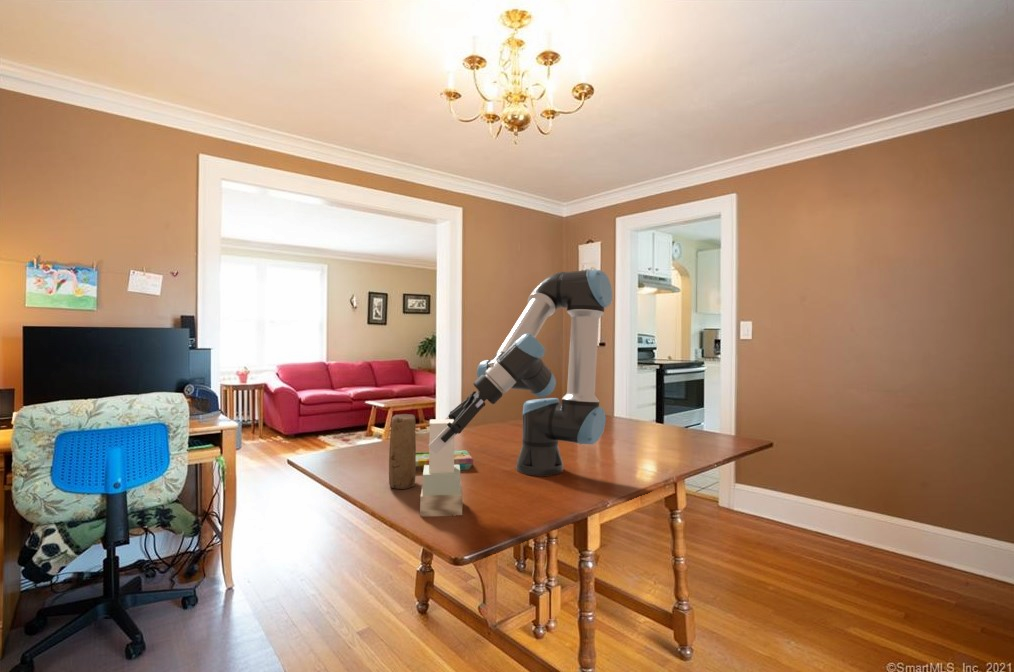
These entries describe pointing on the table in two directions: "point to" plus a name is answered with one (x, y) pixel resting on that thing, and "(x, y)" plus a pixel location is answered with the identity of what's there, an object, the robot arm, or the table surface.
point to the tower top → (441, 482)
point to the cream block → (445, 456)
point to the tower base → (441, 504)
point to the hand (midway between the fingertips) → (432, 443)
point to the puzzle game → (459, 459)
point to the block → (402, 452)
